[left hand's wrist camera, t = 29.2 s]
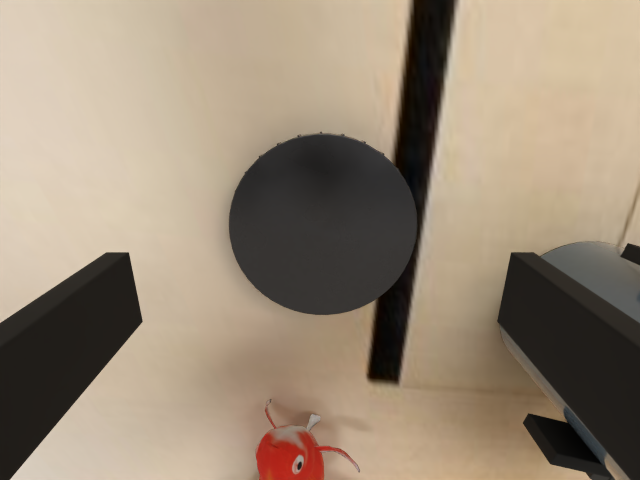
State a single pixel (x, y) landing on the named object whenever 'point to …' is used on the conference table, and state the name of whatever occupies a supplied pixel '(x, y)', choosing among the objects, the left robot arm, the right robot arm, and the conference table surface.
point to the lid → (323, 224)
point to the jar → (610, 284)
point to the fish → (292, 453)
